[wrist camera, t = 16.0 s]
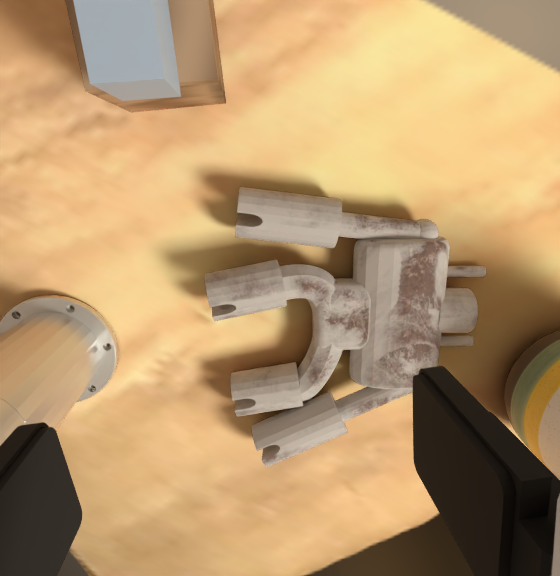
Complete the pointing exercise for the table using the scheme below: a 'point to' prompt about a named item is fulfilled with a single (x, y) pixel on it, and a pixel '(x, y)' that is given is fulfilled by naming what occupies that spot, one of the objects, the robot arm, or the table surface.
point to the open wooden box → (189, 57)
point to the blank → (129, 47)
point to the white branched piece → (341, 314)
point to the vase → (537, 399)
